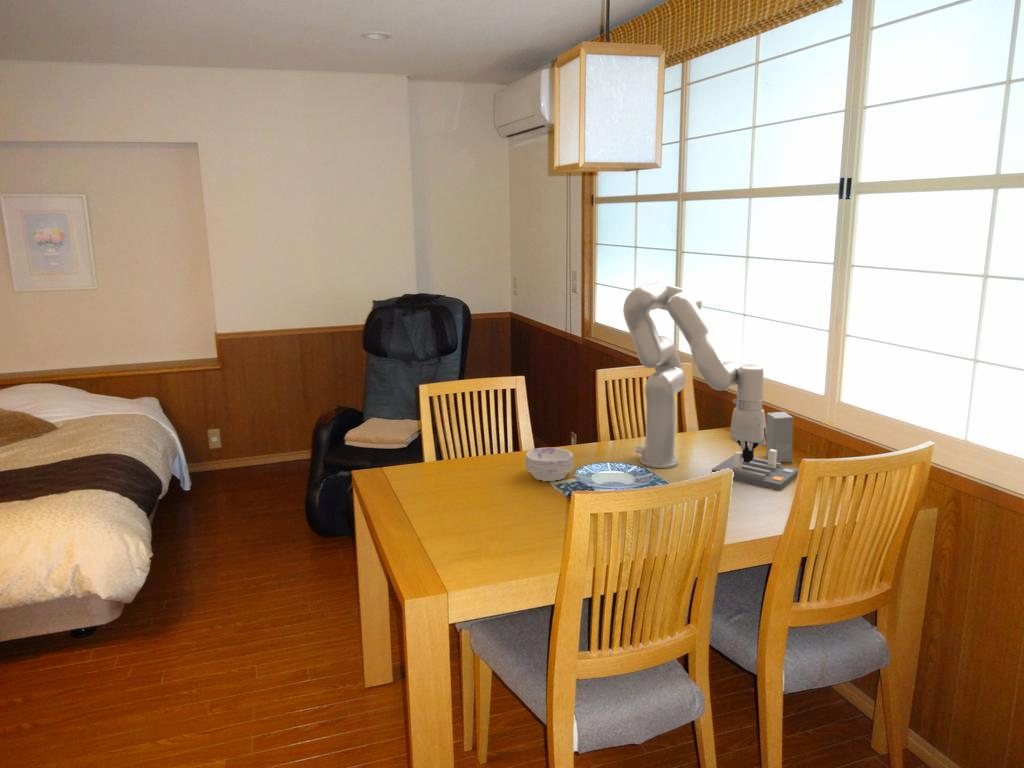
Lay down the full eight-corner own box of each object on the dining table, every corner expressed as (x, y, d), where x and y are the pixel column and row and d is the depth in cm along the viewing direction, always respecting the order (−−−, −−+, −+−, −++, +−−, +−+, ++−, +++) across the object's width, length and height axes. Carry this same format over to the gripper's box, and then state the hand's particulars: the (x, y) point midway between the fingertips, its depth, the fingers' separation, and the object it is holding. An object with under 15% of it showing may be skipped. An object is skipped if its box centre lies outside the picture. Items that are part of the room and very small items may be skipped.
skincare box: (792, 463, 248) (796, 417, 244) (771, 463, 248) (774, 417, 244) (784, 455, 256) (787, 410, 252) (763, 455, 256) (766, 410, 252)
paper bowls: (552, 465, 247) (552, 443, 245) (582, 478, 235) (583, 454, 233) (515, 475, 238) (515, 452, 237) (545, 489, 226) (545, 464, 225)
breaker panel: (711, 475, 237) (711, 465, 236) (733, 461, 250) (733, 452, 249) (779, 490, 224) (780, 480, 223) (798, 475, 236) (799, 465, 236)
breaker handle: (767, 467, 237) (768, 450, 236) (769, 465, 239) (770, 448, 238) (773, 468, 236) (774, 451, 235) (775, 466, 238) (777, 450, 236)
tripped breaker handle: (733, 469, 235) (734, 452, 234) (735, 467, 237) (737, 451, 235) (739, 470, 234) (740, 454, 233) (741, 469, 236) (743, 452, 234)
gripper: (721, 404, 231) (720, 460, 235) (768, 410, 221) (766, 468, 225) (731, 399, 236) (730, 454, 240) (778, 405, 227) (775, 462, 231)
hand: (747, 461), depth 233 cm, fingers closed
